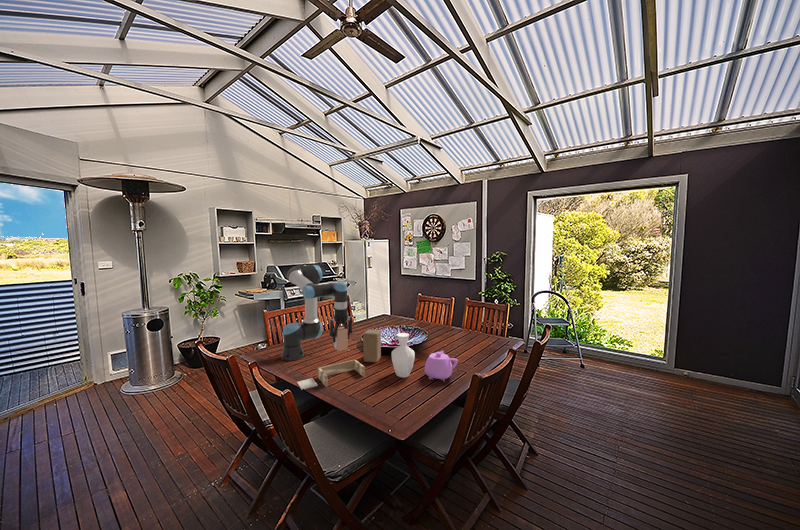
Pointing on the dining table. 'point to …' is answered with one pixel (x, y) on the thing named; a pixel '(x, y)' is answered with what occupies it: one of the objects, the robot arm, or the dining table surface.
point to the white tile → (307, 383)
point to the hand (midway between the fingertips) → (341, 346)
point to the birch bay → (339, 370)
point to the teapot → (439, 365)
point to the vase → (403, 356)
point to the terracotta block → (342, 339)
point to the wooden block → (372, 345)
